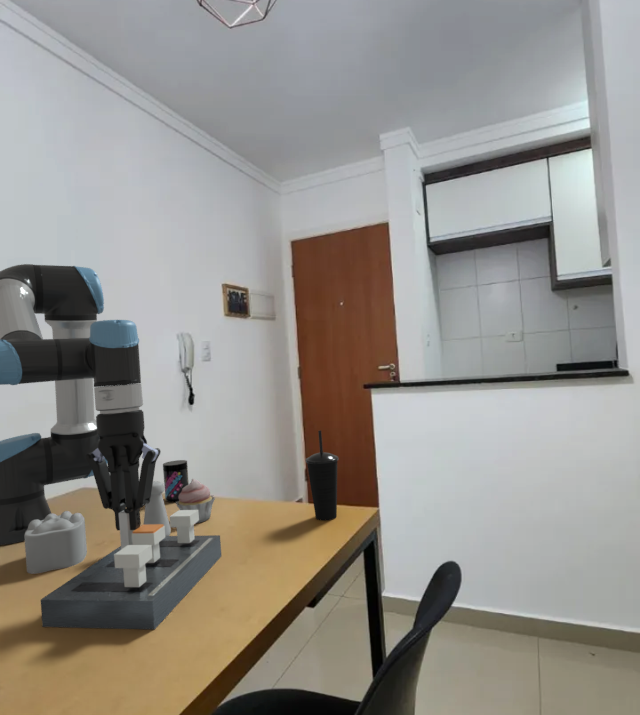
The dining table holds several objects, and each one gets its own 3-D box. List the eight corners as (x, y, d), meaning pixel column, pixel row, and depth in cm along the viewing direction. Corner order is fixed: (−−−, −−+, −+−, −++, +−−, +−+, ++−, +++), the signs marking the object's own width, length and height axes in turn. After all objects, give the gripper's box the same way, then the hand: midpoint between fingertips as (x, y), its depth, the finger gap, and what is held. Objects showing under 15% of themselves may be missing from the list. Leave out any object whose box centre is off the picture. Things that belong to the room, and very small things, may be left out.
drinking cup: (332, 524, 105) (325, 433, 105) (303, 520, 109) (296, 433, 109) (348, 513, 111) (342, 428, 112) (321, 510, 115) (314, 427, 116)
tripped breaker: (133, 564, 80) (131, 531, 80) (145, 555, 83) (143, 524, 83) (156, 564, 79) (153, 531, 79) (166, 555, 82) (164, 524, 83)
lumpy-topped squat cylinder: (22, 576, 90) (19, 530, 90) (36, 552, 102) (33, 512, 102) (83, 564, 93) (80, 520, 94) (89, 542, 106) (87, 503, 106)
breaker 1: (116, 589, 71) (114, 554, 71) (130, 578, 74) (127, 545, 74) (141, 589, 70) (138, 554, 70) (154, 578, 74) (151, 544, 74)
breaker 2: (171, 544, 88) (169, 516, 88) (180, 537, 91) (178, 510, 91) (192, 544, 87) (189, 516, 87) (200, 537, 90) (198, 509, 90)
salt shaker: (162, 549, 98) (157, 486, 98) (137, 549, 99) (132, 486, 99) (176, 538, 104) (172, 478, 104) (152, 538, 105) (148, 479, 105)
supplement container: (161, 500, 136) (158, 463, 136) (183, 494, 141) (180, 459, 141) (171, 504, 131) (168, 466, 131) (194, 498, 136) (191, 461, 136)
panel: (42, 626, 71) (40, 599, 71) (136, 556, 95) (134, 536, 95) (154, 629, 67) (152, 600, 67) (221, 556, 92) (219, 535, 92)
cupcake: (192, 512, 122) (189, 473, 122) (223, 514, 118) (220, 474, 119) (168, 525, 113) (165, 483, 113) (201, 527, 110) (198, 484, 110)
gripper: (70, 415, 79) (81, 557, 79) (142, 410, 77) (153, 557, 77) (99, 410, 87) (109, 540, 86) (165, 406, 84) (175, 539, 84)
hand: (129, 548), depth 82 cm, fingers closed
